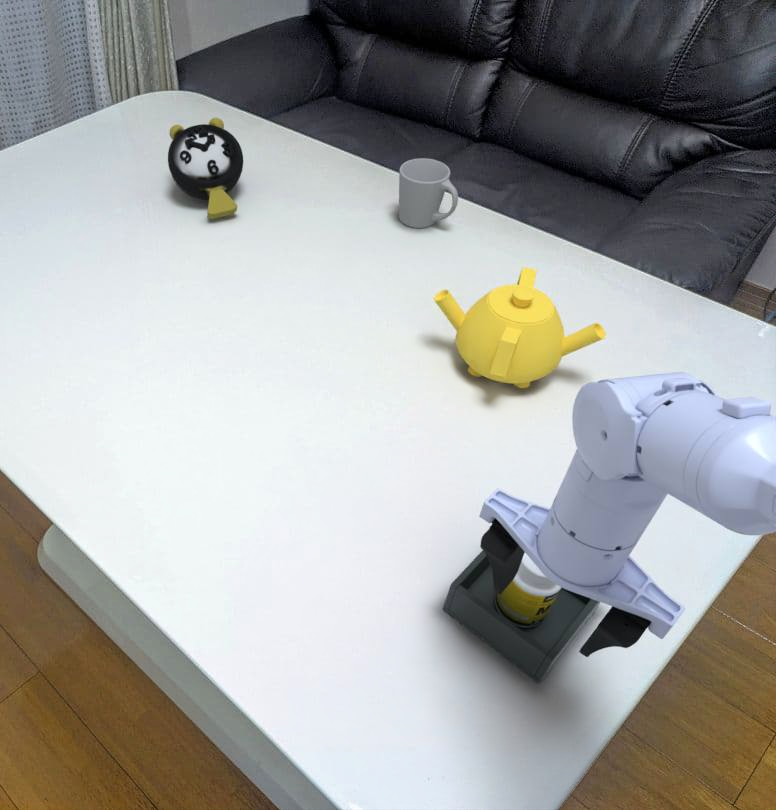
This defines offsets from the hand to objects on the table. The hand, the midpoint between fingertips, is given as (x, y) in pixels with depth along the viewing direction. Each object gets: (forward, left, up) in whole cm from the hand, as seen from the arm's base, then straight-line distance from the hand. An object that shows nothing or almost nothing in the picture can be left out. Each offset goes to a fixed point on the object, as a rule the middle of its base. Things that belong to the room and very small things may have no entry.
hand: (544, 614), depth 59 cm
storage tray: (+3, -5, -9) cm, 11 cm away
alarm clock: (+81, -36, -10) cm, 89 cm away
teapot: (+23, -34, -10) cm, 42 cm away
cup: (+50, -54, -10) cm, 74 cm away
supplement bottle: (+3, -5, -9) cm, 11 cm away
